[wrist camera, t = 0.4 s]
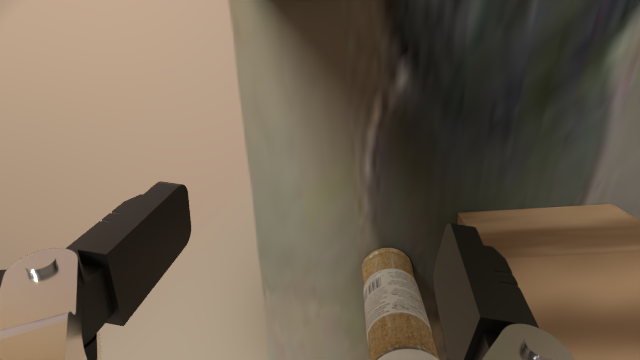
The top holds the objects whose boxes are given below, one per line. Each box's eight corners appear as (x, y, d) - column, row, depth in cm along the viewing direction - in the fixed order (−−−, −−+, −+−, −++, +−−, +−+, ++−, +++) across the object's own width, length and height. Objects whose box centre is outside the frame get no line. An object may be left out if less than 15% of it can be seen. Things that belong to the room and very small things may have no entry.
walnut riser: (457, 212, 30) (488, 259, 24) (611, 203, 29) (688, 249, 23) (453, 327, 34) (478, 394, 28) (588, 323, 33) (648, 392, 27)
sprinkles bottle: (383, 296, 34) (406, 447, 21) (350, 265, 33) (353, 402, 20) (423, 269, 32) (472, 411, 20) (389, 235, 31) (419, 362, 19)
